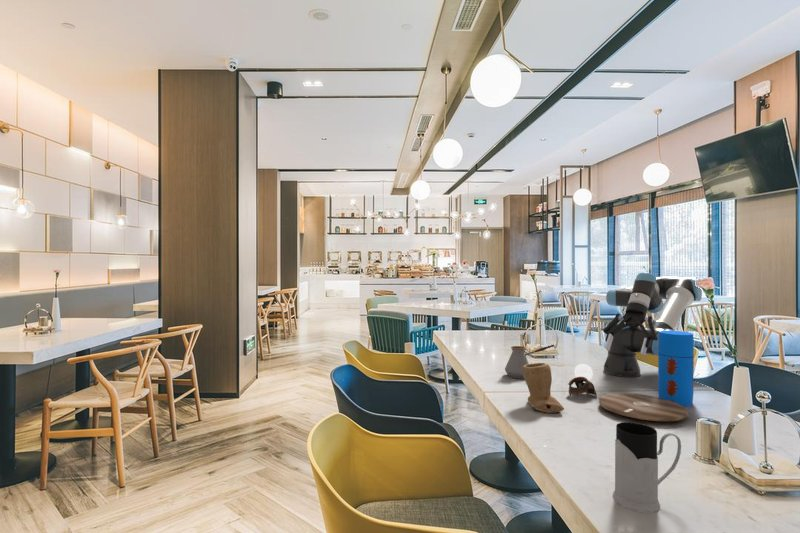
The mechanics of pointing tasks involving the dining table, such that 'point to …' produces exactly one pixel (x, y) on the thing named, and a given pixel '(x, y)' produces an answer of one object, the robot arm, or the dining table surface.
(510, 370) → the coffee pot
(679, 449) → the glass holder
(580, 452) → the dining table surface
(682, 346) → the thermos
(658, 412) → the disc
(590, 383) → the pottery mug
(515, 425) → the dining table surface
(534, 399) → the brown boot vase
